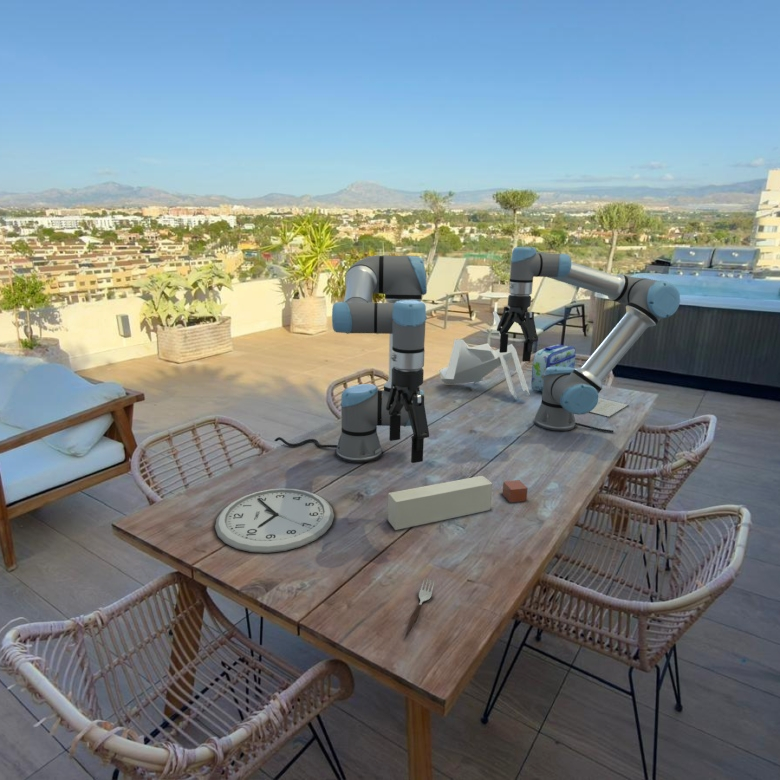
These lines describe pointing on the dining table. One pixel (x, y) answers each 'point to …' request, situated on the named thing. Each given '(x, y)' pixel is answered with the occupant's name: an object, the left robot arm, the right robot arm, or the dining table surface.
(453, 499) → the beam
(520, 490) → the terracotta block
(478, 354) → the white plastic object
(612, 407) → the invitation card
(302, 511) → the wall clock
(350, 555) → the dining table surface
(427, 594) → the fork
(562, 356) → the lunch box
